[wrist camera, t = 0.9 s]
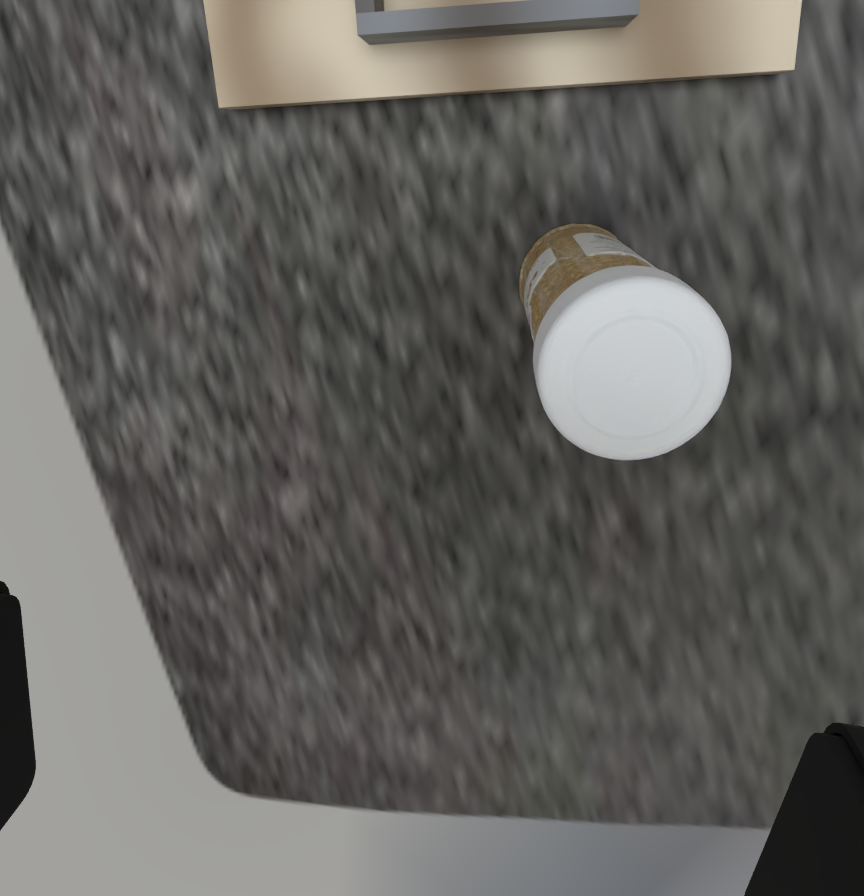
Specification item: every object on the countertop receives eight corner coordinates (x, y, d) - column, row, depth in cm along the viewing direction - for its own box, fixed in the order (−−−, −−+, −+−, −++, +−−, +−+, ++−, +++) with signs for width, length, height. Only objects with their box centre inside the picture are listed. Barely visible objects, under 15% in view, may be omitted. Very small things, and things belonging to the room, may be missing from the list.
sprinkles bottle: (495, 270, 30) (497, 357, 17) (591, 196, 29) (667, 233, 16) (561, 359, 31) (607, 500, 19) (656, 291, 30) (774, 394, 17)
